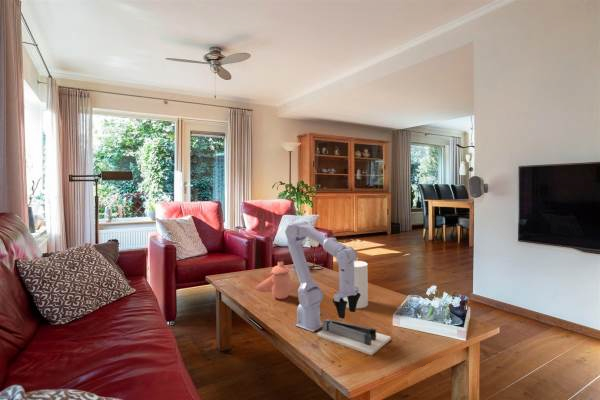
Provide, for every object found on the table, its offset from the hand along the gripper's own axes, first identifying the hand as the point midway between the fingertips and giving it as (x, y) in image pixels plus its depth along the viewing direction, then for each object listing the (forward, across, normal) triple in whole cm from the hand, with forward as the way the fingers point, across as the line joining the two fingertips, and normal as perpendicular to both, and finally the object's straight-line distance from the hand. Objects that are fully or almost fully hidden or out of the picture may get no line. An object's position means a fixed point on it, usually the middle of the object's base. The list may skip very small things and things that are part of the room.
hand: (347, 314), depth 127 cm
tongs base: (+8, 0, 0) cm, 8 cm away
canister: (+10, +34, +18) cm, 39 cm away
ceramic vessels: (+10, +25, +63) cm, 69 cm away
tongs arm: (+8, +2, -1) cm, 9 cm away
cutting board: (+9, +2, -1) cm, 10 cm away
